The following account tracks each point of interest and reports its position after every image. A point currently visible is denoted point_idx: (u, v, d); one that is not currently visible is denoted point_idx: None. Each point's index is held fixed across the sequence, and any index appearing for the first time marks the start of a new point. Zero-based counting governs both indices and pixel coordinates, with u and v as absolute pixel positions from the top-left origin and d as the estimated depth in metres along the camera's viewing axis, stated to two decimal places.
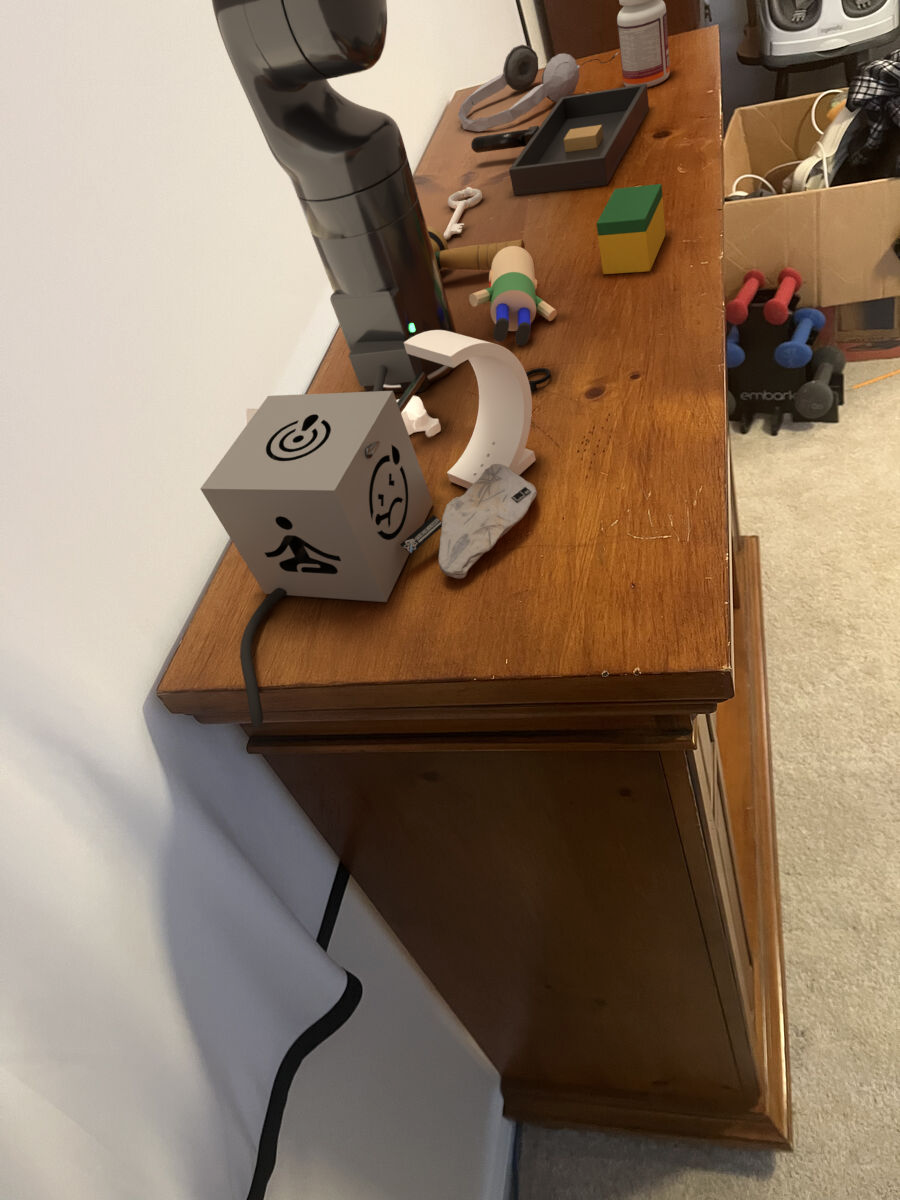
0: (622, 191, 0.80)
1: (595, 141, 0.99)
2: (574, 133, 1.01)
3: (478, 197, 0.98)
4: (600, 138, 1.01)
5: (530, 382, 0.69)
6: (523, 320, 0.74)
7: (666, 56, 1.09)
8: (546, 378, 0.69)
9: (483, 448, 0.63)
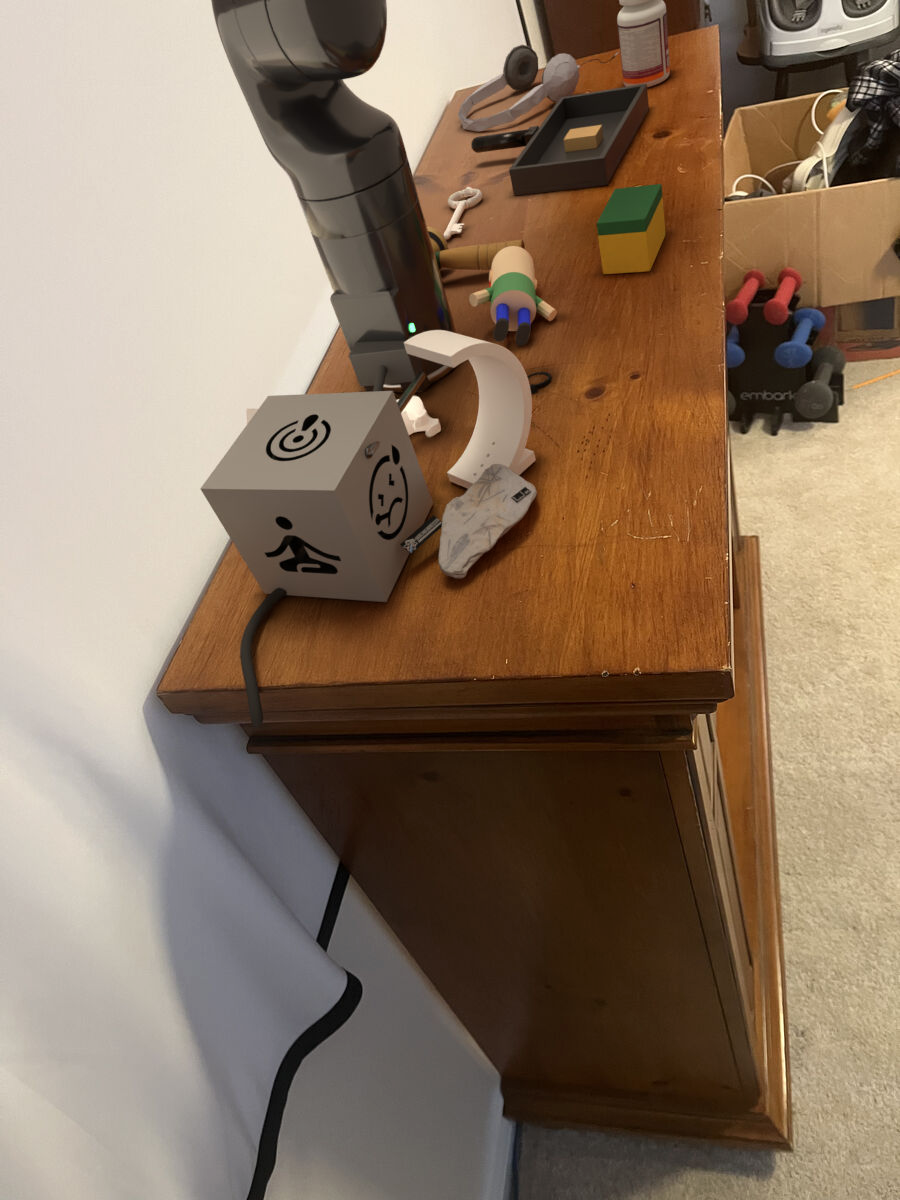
0: (622, 191, 0.80)
1: (595, 141, 0.99)
2: (574, 133, 1.01)
3: (478, 197, 0.98)
4: (600, 138, 1.01)
5: (531, 386, 0.69)
6: (523, 320, 0.74)
7: (666, 56, 1.09)
8: (547, 382, 0.70)
9: (483, 448, 0.63)
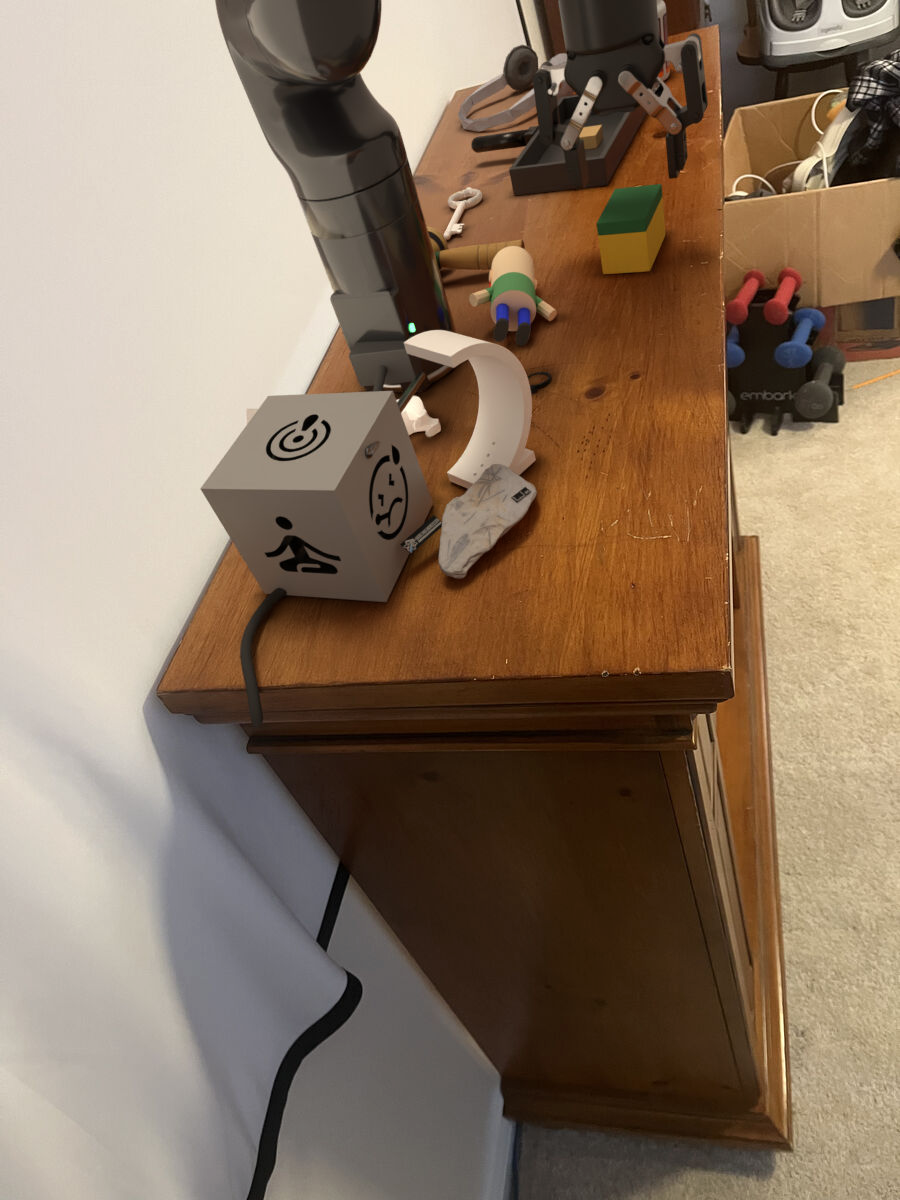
0: (622, 191, 0.80)
1: (595, 141, 0.99)
2: None
3: (478, 197, 0.98)
4: (600, 138, 1.01)
5: (530, 386, 0.69)
6: (523, 320, 0.74)
7: None
8: (547, 382, 0.70)
9: (483, 448, 0.63)
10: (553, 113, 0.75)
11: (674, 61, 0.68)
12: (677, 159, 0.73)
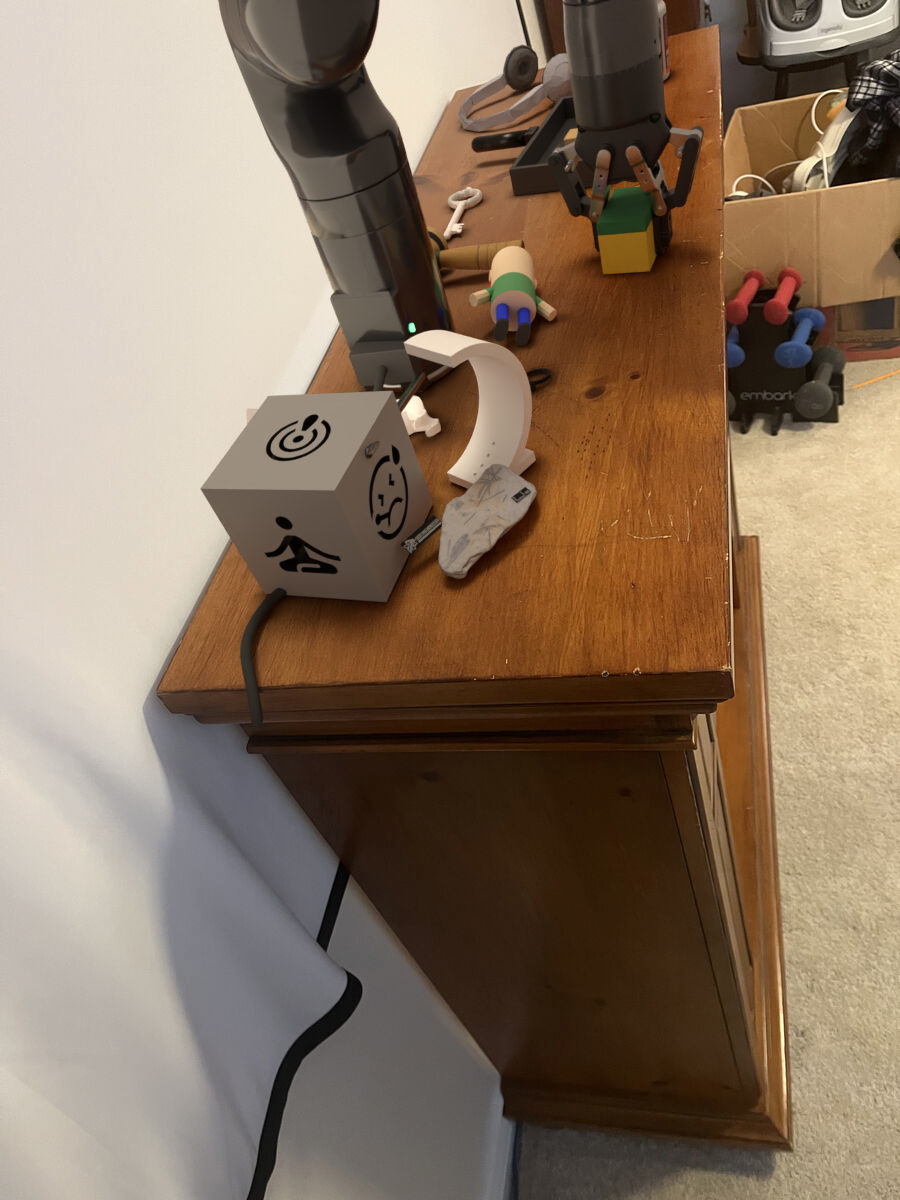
0: (622, 191, 0.80)
1: None
2: (574, 133, 1.01)
3: (478, 197, 0.98)
4: None
5: (529, 382, 0.69)
6: (523, 320, 0.74)
7: (666, 56, 1.09)
8: (546, 379, 0.69)
9: (483, 448, 0.63)
10: (578, 187, 0.79)
11: (676, 146, 0.72)
12: (662, 237, 0.78)
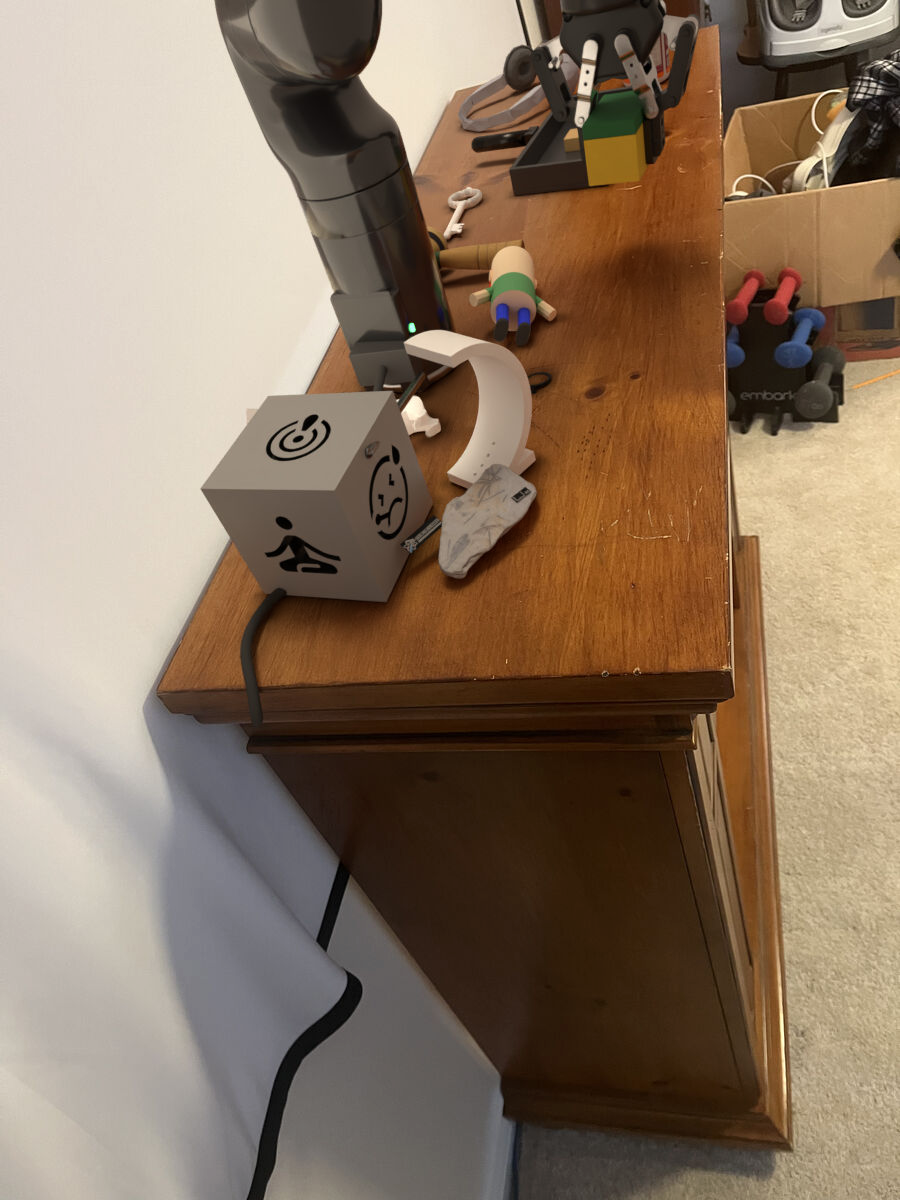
0: (611, 96, 0.73)
1: None
2: (574, 133, 1.01)
3: (478, 197, 0.98)
4: None
5: (530, 386, 0.69)
6: (523, 320, 0.74)
7: (666, 56, 1.09)
8: (546, 382, 0.70)
9: (483, 448, 0.63)
10: (563, 89, 0.73)
11: (670, 35, 0.66)
12: (654, 144, 0.72)
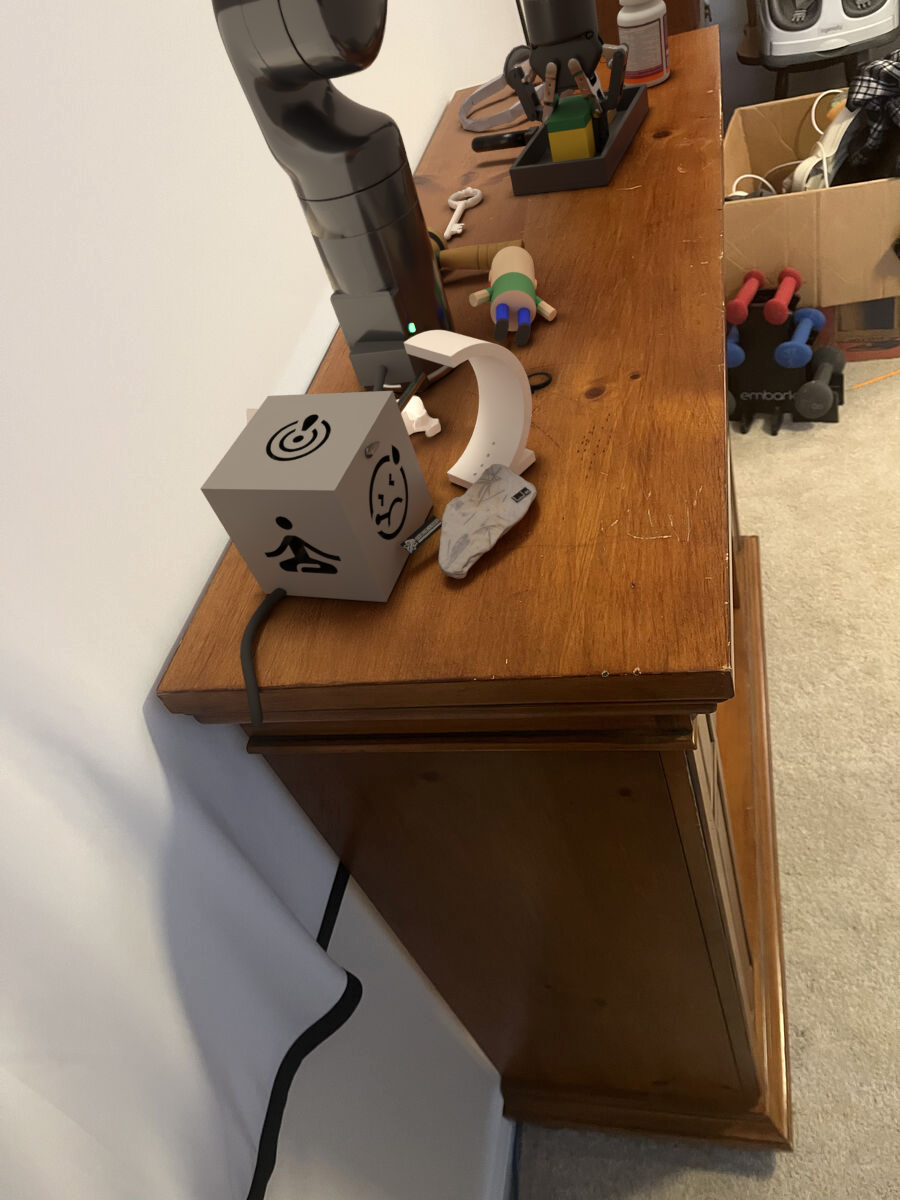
0: (568, 99, 0.99)
1: (609, 117, 1.04)
2: None
3: (478, 197, 0.98)
4: (613, 114, 1.05)
5: None
6: (523, 320, 0.74)
7: (666, 56, 1.09)
8: (545, 384, 0.70)
9: (483, 448, 0.63)
10: (533, 97, 0.99)
11: (607, 58, 0.92)
12: (601, 136, 0.98)
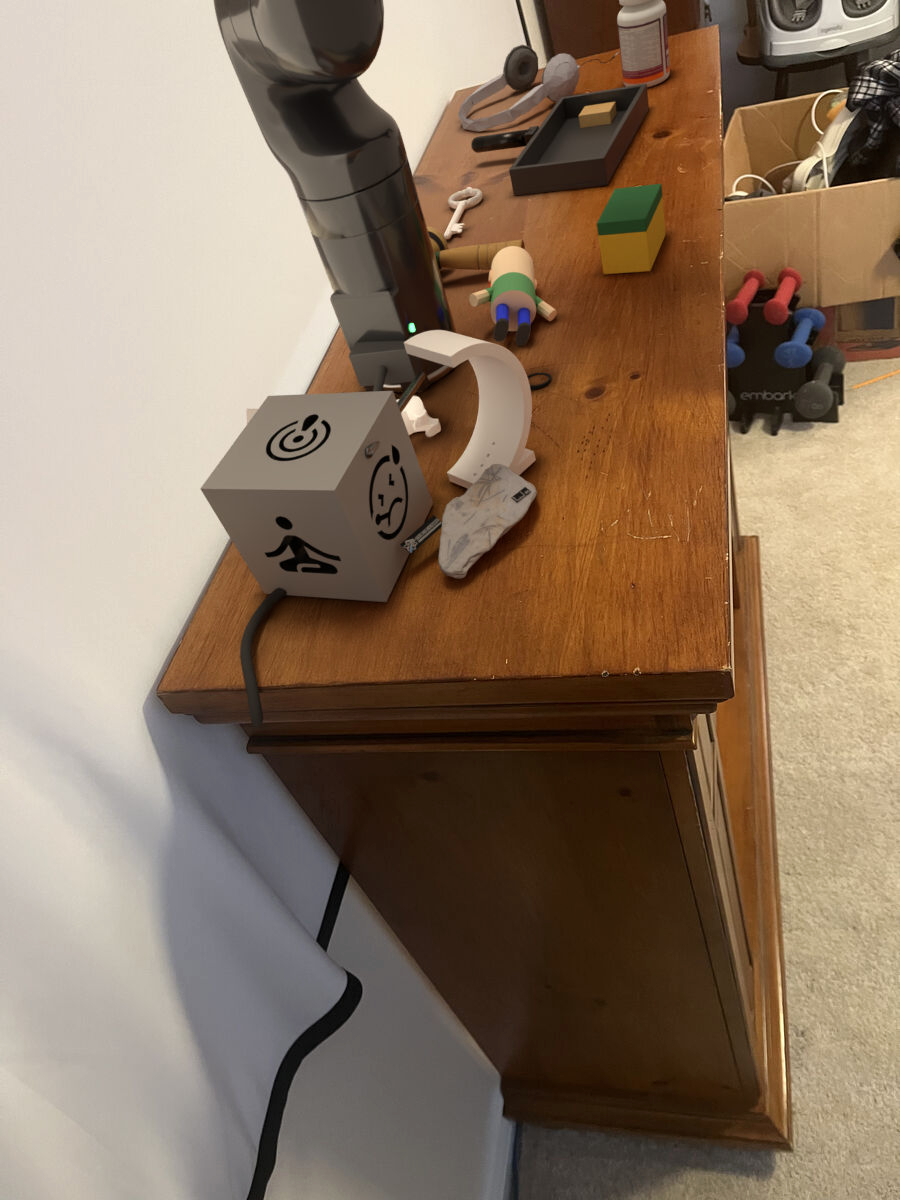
0: (622, 190, 0.80)
1: (609, 117, 1.04)
2: (588, 109, 1.05)
3: (479, 197, 0.98)
4: (613, 114, 1.05)
5: None
6: (523, 320, 0.74)
7: (666, 56, 1.09)
8: (541, 386, 0.69)
9: (483, 448, 0.63)
10: None
11: None
12: None
